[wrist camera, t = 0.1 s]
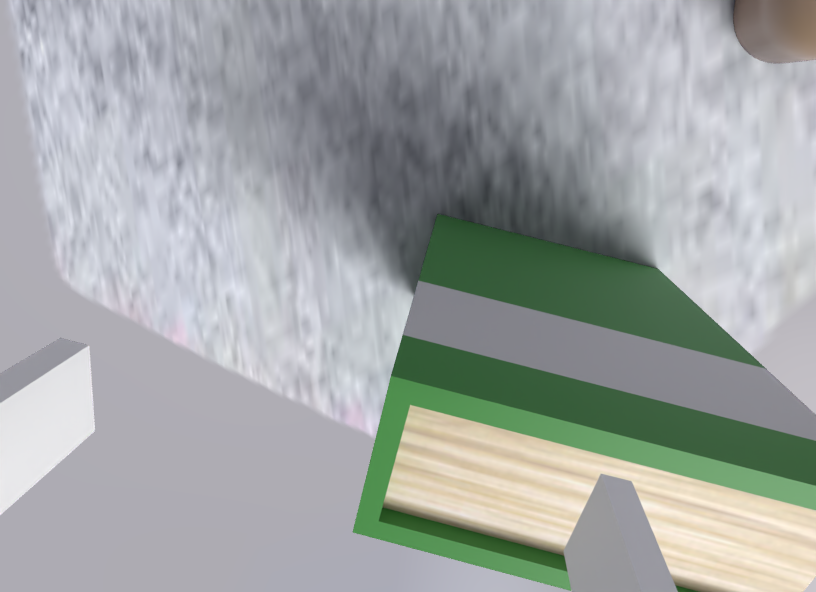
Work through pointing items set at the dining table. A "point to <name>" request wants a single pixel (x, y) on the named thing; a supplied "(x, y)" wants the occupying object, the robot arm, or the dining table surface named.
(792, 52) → the tan rounded capsule
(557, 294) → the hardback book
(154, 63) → the dining table surface
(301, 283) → the dining table surface
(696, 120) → the dining table surface
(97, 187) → the dining table surface
